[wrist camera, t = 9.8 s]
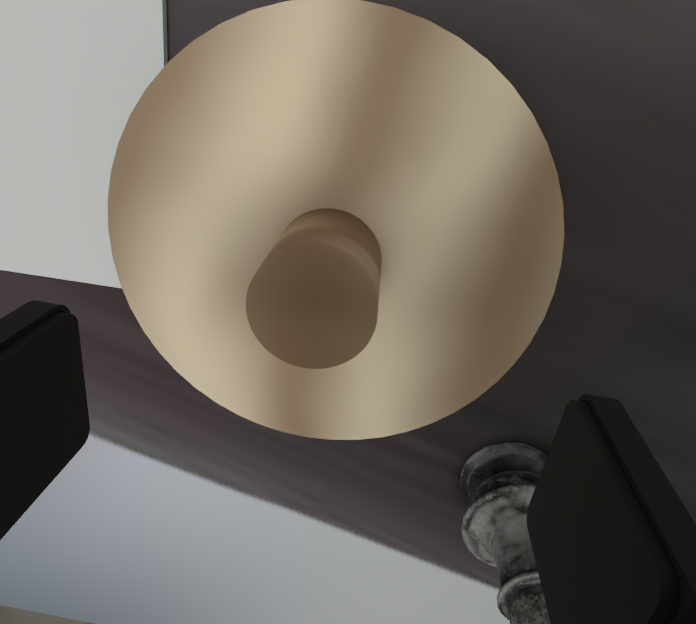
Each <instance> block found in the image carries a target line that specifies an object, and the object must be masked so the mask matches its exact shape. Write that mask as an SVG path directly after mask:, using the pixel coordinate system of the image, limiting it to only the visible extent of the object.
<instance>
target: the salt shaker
mask: <svg viewBox="0 0 696 624" xmlns="http://www.w3.org/2000/svg"><path fill="white" fill-rule="evenodd" d="M546 458H547V455H546V454H545V453H543V452H542V451H540V450H539V449H537V448H536V447H533V446H530V445H527V444H524V443H517V442H503V443H496V444H493V445H490V446H486V447H484V448H482V449H481V450H479V451H477V452H475V453H474V454H473V455H472V456H471V457H470V458H469V459H468V460H467V461H466V462H465V464H464V466H463V467H462V469H461V474H460V486H461V490H462V492H463V494H464V496H465V498H466V499H467V500H468V501H469V502H468V505H467V509H466V513H465V514H464V516H463V520H462V525H461V530H462V538H463V541H464V543H465V544H466V546H467V548H468V550H469V551H470V552H471V553H473V554H474V555H475V556H476V557H477V558H478V559H480V560H482V561H483V562H485V563H487V564H489V565H492V566H495V567H497V569H498V574H499V579H500V584H501V589H500V591H499V593H498V597H497V603H498V608H499V610H500V612H501V614H503V615H504V616H505V617H506V618H507V619H508V620H510V624H551V622H550V618H549V614H548V610H547V606H546V602H545V598H544V594H543V590H542V586H541V582H540V577H539V573H538V569H537V565H536V561H535V557H534V553H533V549H532V545H531V541H530V537H529V533H528V529H527V509H528V506H529V503H530V500H531V498H532V495H533V493H534V490H535V487H536V485H537V482H538V479H539V477H540V474H541V472H542V469H543V466H544V464H545V461H546Z"/></svg>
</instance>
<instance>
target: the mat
mask: <svg viewBox="0 0 696 624" xmlns="http://www.w3.org/2000/svg"><path fill="white" fill-rule="evenodd" d="M167 63H168V49H167V7H166V0H0V270H5V271H12V272H18V273H25V274H31V275H38V276H45V277H51V278H58V279H64V280H71V281H77V282H84V283H91V284H97V285H104V286H110V287H117V288H122V287H121V284H120V281H119V278H118V274H117V271H116V267H115V264H114V260H113V257H112V251H111V244H110V238H109V231H108V192H109V183H110V175H111V169H112V165H113V161H114V157H115V154H116V150H117V146H118V142H119V140H120V138H121V135H122V133H123V130H124V128H125V126H126V123H127V121H128V119H129V116H130V114H131V112H132V111H133V109H134V107H135V106H136V104H137V103H138V101H139V99H140V98H141V96H142V94H143V93H144V91H145V89H146V88H147V87H148V85H149V84H150V83H151V82H152V81H153V79H154V78H155V77H156V76H157V75H158V74H159V72H160V71H161V70H162V69H163V68H164V66H165V65H166V64H167Z"/></svg>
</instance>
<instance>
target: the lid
mask: <svg viewBox="0 0 696 624" xmlns="http://www.w3.org/2000/svg"><path fill="white" fill-rule="evenodd" d="M108 231H109V238H110V244H111V251H112V257H113V260H114V264H115V267H116V271H117V274H118V278H119V281H120V284H121V287H122V289H123V291H124V294H125V296H126V298H127V301H128V303H129V306H130V308H131V310H132V311H133V313H134V315H135V317H136V318H137V320H138V322H139V324H140V326H141V327H142V329H143V331H144V332H145V334H146V335H147V336H148V338H149V339H150V340H151V342H152V343H153V345H154V346H155V347H156V349H157V350H158V351H159V353H160V354H161V355H162V356H163V357H164V358H165V359H166V360H167V361H168V362H169V364H170V365H171V366H172V367H173V368H174V369H175V370H176V371H177V372H178V373H179V374H180V375H181V376H183V377H184V378H185V379H186V380H187V381H188V382H189V383H190V384H192V385H193V386H194V387H195V388H196V389H198V390H199V391H201V392H202V393H203V394H205V395H206V396H208V397H209V398H210V399H212V400H213V401H215V402H216V403H218V404H220V405H221V406H223V407H225V408H227V409H228V410H230V411H232V412H234V413H236V414H237V415H239V416H242V417H244V418H246V419H249V420H251V421H253V422H256V423H258V424H260V425H263V426H266V427H269V428H272V429H276V430H279V431H282V432H285V433H290V434H295V435H300V436H305V437H310V438H320V439H330V440H361V439H370V438H379V437H386V436H390V435H395V434H399V433H404V432H408V431H411V430H414V429H417V428H420V427H422V426H425V425H428V424H431V423H433V422H435V421H438V420H440V419H442V418H444V417H446V416H448V415H450V414H452V413H454V412H456V411H458V410H459V409H461V408H462V407H464V406H466V405H467V404H469V403H470V402H472V401H474V400H475V399H477V398H478V397H479V396H480V395H482V394H483V393H484V392H485V391H487V390H488V389H489V388H490V387H491V386H493V385H494V384H495V383H496V382H497V381H498V380H499V379H500V378H501V377H502V376H503V375H504V374H505V373H506V372H507V371H508V370H509V369H510V368H511V367H512V366H513V365H514V364H515V362H516V361H517V360H518V358H519V357H520V356H521V354H522V353H523V352H524V350H525V349H526V348H527V346H528V345H529V344H530V342H531V341H532V339H533V337H534V335H535V333H536V332H537V330H538V328H539V326H540V325H541V323H542V321H543V319H544V317H545V315H546V312H547V310H548V307H549V305H550V302H551V300H552V297H553V295H554V292H555V288H556V284H557V280H558V276H559V272H560V268H561V262H562V253H563V243H564V212H563V201H562V195H561V190H560V184H559V179H558V173H557V170H556V167H555V164H554V161H553V158H552V155H551V152H550V149H549V147H548V144H547V141H546V139H545V137H544V135H543V133H542V131H541V130H540V128H539V126H538V124H537V122H536V120H535V118H534V116H533V114H532V112H531V111H530V109H529V108H528V106H527V105H526V104H525V102H524V101H523V99H522V98H521V97H520V95H519V94H518V92H517V91H516V90H515V88H514V87H513V85H512V84H511V83H510V82H509V81H508V80H507V79H506V78H505V77H504V76H503V75H502V74H501V73H500V72H499V71H498V70H497V69H496V68H495V66H494V65H493V64H492V63H491V62H490V61H489V60H488V59H487V58H485V57H484V56H483V55H481V54H480V53H479V52H477V51H476V50H475V49H474V48H472V47H471V46H470V45H468V44H467V43H466V42H465V41H463V40H462V39H461V38H459V37H457V36H456V35H454V34H452V33H450V32H449V31H447V30H445V29H443V28H441V27H440V26H438V25H436V24H434V23H432V22H431V21H429V20H427V19H424V18H421V17H419V16H416V15H413V14H411V13H408V12H405V11H403V10H400V9H397V8H395V7H391V6H386V5H381V4H376V3H372V2H367V1H362V0H293V1H285V2H281V3H277V4H273V5H269V6H265V7H262V8H258V9H254V10H251V11H248V12H246V13H244V14H241V15H239V16H237V17H235V18H232V19H230V20H228V21H225V22H223V23H221V24H219V25H217V26H216V27H214V28H213V29H211V30H209V31H208V32H206V33H205V34H203V35H202V36H200V37H198V38H197V39H195V40H194V41H192V42H191V43H190V44H189V45H187V46H186V47H185V48H184V49H183V50H182V51H181V52H179V53H178V54H177V55H176V56H175V57H174V58H173V59H171V60H170V61H169V62H168V63H167V64H166V65H165V66H164V68H163V69H162V70H161V71H160V72H159V74H158V75H157V76H156V77H155V78H154V79H153V81H152V82H151V83H150V84H149V85H148V87H147V88H146V89H145V91H144V93H143V94H142V96H141V98H140V99H139V101H138V103H137V104H136V106H135V107H134V109H133V111H132V112H131V114H130V116H129V119H128V121H127V123H126V126H125V128H124V130H123V133H122V135H121V138H120V140H119V142H118V146H117V150H116V154H115V157H114V161H113V165H112V169H111V175H110V183H109V192H108Z"/></svg>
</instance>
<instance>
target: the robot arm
mask: <svg viewBox="0 0 696 624" xmlns="http://www.w3.org/2000/svg"><path fill="white" fill-rule="evenodd" d="M89 430H90V425H89V416H88V407H87V398H86V389H85V381H84V372H83V363H82V354H81V345H80V337H79V328H78V321H77V318H76V317H75V316H74V315H73V314H71V313H70V311H69V309H68V308H67V307H66V306H64V305H60V304H54V303H48V302H42V301H35V300H33V301H30V302H28V303H26V304H24V305H23V306H21V307H19V308H18V309H16V310H14V311H13V312H11V313H9V314H8V315H6V316H4V317H3V318H1V319H0V540H1V539H2V537H3V536H4V535H5V534H6V533H7V532H8V531H9V529H10V528H11V527H12V526H13V525H14V524H15V523H16V522H17V520H18V519H19V518H20V517H21V516H22V515H23V513H24V512H25V511H26V510H27V509H28V508H29V506H31V504H32V503H33V502H34V501H35V500H36V499H37V497H39V495H40V494H41V493H42V492H43V491H44V490H45V488H46V487H47V486H48V485H49V484H50V483H51V482H52V481H53V479H54V478H55V477H56V476H57V475H58V474H59V473H60V472H61V470H62V469H63V468H64V467H65V466H66V464H67V463H68V462H69V461H70V460H71V459H72V458H73V457H74V456H75V454H76V453H77V452H78V451H79V450H80V449H81V448H82V446H83V445H84V443H85V442H86V440H87V438H88V435H89ZM527 529H528V533H529V537H530V541H531V545H532V549H533V553H534V557H535V561H536V565H537V569H538V573H539V577H540V582H541V586H542V590H543V594H544V598H545V602H546V606H547V610H548V614H549V618H550V622H551V624H696V524H695V523H694V521H693V519H692V518H691V516H690V515H689V513H688V511H687V510H686V508H685V506H684V505H683V503H682V502H681V500H680V498H679V497H678V495H677V493H676V492H675V490H674V489H673V487H672V485H671V484H670V482H669V481H668V479H667V477H666V476H665V474H664V472H663V471H662V469H661V468H660V466H659V464H658V463H657V461H656V459H655V458H654V456H653V455H652V453H651V451H650V450H649V448H648V446H647V445H646V443H645V442H644V440H643V438H642V437H641V435H640V434H639V432H638V430H637V429H636V427H635V425H634V424H633V422H632V421H631V419H630V417H629V416H628V414H627V412H626V411H625V409H624V408H623V406H622V404H621V403H620V402H619V401H618V400H616V399H612V398H606V397H600V396H594V395H588V394H583V395H581V396H580V398H579V399H578V401H577V400H571V401H569V403H568V404H567V406H566V409H565V411H564V414H563V416H562V419H561V422H560V424H559V427H558V430H557V432H556V435H555V437H554V440H553V443H552V445H551V448H550V451H549V453H548V456H547V458H546V461H545V464H544V466H543V469H542V472H541V474H540V477H539V479H538V482H537V485H536V487H535V490H534V493H533V495H532V498H531V500H530V503H529V506H528V509H527ZM0 624H93V623H87V622H83V621H78V620H73V619H68V618H62V617H57V616H52V615H47V614H42V613H36V612H32V611H26V610H21V609H16V608H11V607H6V606H1V605H0Z"/></svg>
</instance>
